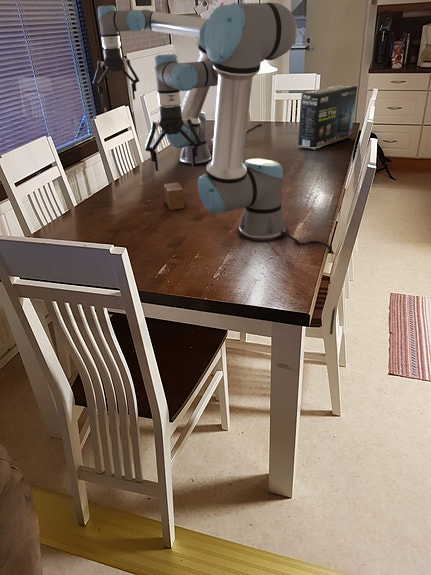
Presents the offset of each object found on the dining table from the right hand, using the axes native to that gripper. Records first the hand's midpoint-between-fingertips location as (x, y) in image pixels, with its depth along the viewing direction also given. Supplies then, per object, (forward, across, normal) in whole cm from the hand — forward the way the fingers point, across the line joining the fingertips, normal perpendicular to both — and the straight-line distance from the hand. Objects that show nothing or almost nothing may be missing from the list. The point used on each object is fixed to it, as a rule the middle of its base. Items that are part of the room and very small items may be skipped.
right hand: (175, 167), depth 166 cm
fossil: (+14, +45, +83) cm, 95 cm away
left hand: (-16, -12, +63) cm, 66 cm away
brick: (+14, -1, +1) cm, 14 cm away
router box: (+14, +93, +62) cm, 113 cm away
